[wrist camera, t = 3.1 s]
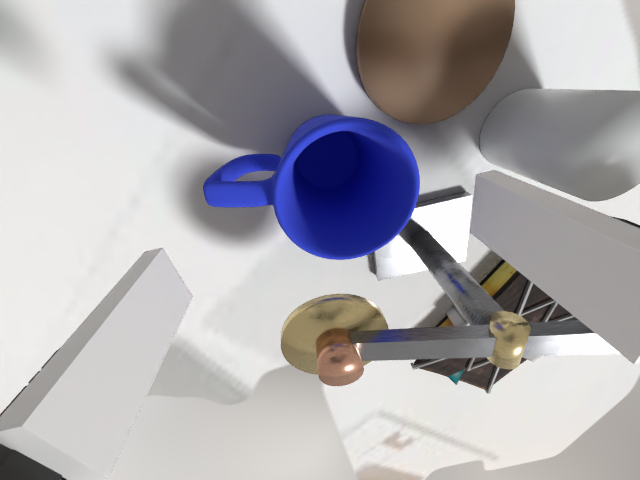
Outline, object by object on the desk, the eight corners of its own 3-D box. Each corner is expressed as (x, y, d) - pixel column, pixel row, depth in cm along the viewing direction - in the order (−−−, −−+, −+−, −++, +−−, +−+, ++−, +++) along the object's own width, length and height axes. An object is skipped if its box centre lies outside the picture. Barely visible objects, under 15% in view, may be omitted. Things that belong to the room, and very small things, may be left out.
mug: (224, 101, 20) (177, 115, 12) (377, 105, 21) (437, 119, 13) (238, 201, 24) (211, 266, 16) (365, 199, 26) (405, 258, 17)
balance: (273, 236, 26) (258, 403, 13) (563, 168, 26) (874, 265, 12) (293, 294, 31) (298, 467, 17) (543, 236, 30) (759, 365, 16)
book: (475, 372, 45) (495, 403, 40) (400, 348, 39) (414, 380, 35) (592, 283, 36) (633, 310, 32) (518, 234, 30) (555, 259, 26)
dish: (345, -44, 17) (349, -52, 16) (515, -86, 17) (530, -97, 16) (364, 135, 22) (368, 138, 21) (491, 105, 22) (501, 106, 21)
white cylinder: (483, 98, 22) (589, 106, 14) (559, 80, 22) (707, 78, 14) (475, 172, 25) (558, 211, 18) (541, 156, 25) (653, 188, 18)
